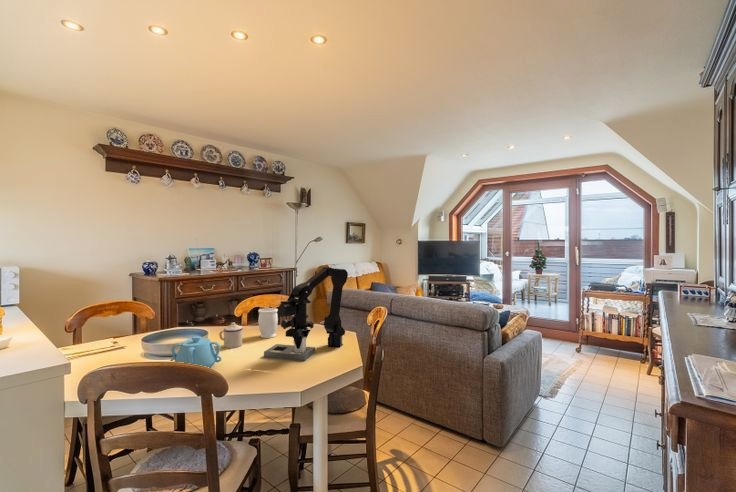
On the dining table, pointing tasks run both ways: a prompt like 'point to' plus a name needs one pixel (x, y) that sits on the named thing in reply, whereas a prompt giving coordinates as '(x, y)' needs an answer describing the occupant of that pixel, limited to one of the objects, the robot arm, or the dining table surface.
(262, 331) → the jar
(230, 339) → the teacup with lid
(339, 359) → the dining table surface
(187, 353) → the decorative pot
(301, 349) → the plug
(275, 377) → the dining table surface
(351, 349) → the dining table surface
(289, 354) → the grey socket board
